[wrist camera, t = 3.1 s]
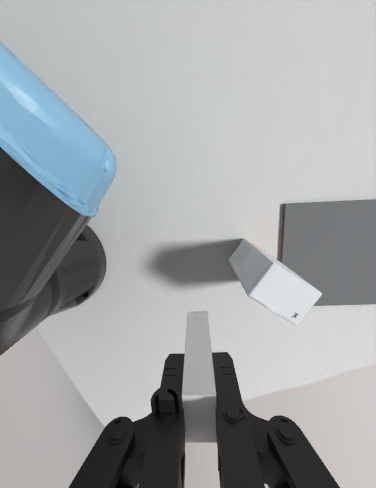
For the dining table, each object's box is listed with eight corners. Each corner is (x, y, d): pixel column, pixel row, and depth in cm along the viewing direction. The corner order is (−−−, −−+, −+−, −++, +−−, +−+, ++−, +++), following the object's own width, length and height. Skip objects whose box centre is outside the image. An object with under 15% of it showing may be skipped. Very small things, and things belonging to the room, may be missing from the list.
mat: (278, 304, 32) (279, 306, 32) (284, 203, 29) (285, 203, 28) (374, 302, 32) (377, 304, 31) (393, 198, 28) (397, 198, 27)
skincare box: (275, 257, 30) (325, 294, 19) (258, 279, 31) (296, 327, 20) (242, 236, 30) (273, 261, 18) (226, 259, 31) (245, 297, 19)
